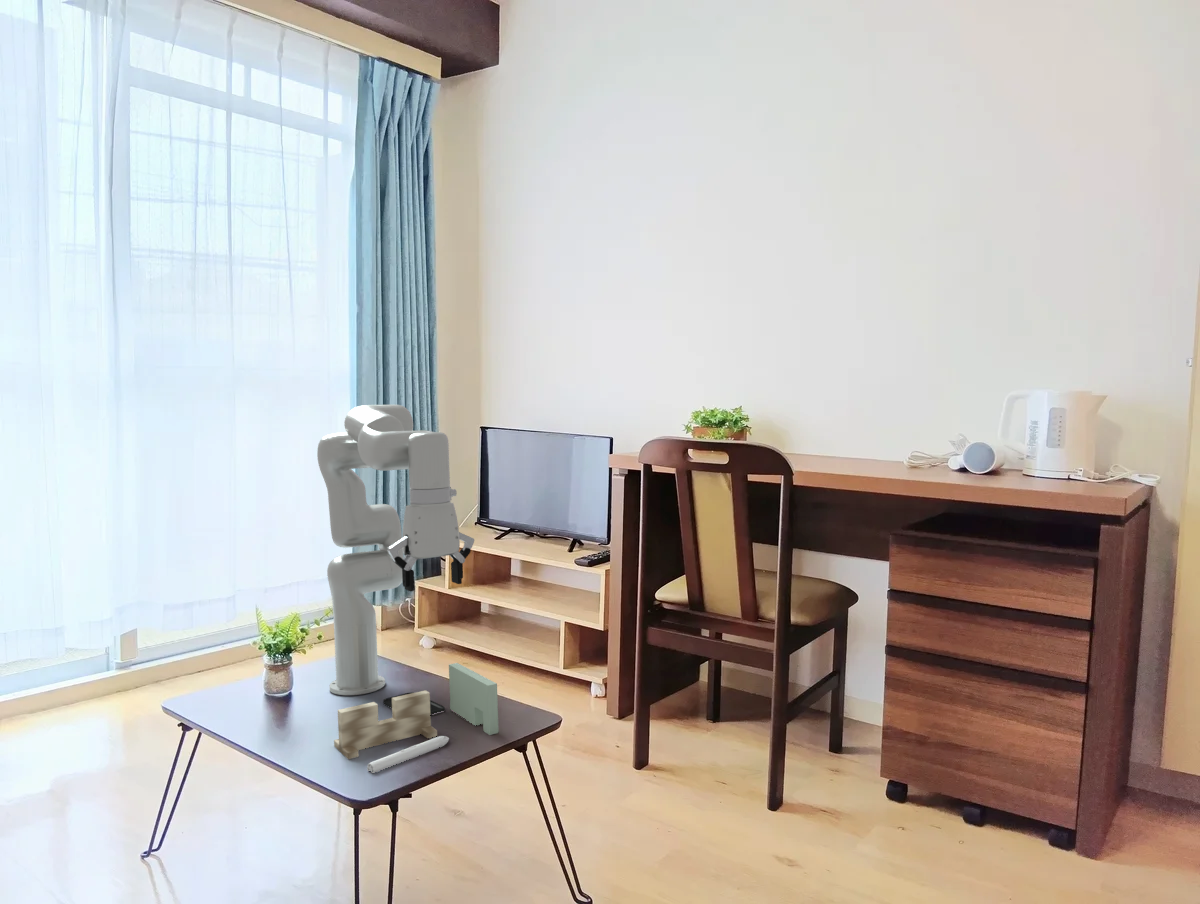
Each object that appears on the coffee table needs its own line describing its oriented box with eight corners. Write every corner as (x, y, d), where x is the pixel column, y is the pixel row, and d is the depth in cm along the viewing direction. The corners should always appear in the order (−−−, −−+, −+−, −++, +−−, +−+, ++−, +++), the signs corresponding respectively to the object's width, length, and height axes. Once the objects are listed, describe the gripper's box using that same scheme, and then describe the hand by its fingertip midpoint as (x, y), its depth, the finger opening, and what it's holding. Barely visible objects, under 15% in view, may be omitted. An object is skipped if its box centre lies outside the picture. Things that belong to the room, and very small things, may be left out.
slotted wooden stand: (348, 759, 162) (346, 717, 162) (334, 746, 169) (332, 705, 168) (437, 736, 173) (435, 696, 172) (421, 724, 179) (419, 686, 179)
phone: (412, 691, 198) (446, 707, 187) (412, 696, 198) (446, 712, 187) (380, 699, 193) (413, 716, 182) (381, 704, 193) (413, 722, 182)
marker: (445, 742, 170) (445, 730, 170) (452, 744, 169) (452, 732, 169) (367, 773, 157) (366, 760, 157) (373, 776, 156) (373, 763, 155)
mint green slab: (498, 732, 174) (497, 683, 173) (489, 735, 173) (488, 685, 172) (458, 708, 189) (457, 662, 188) (450, 710, 187) (448, 664, 187)
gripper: (463, 492, 173) (465, 577, 174) (379, 499, 163) (382, 590, 164) (480, 495, 167) (483, 583, 168) (394, 502, 157) (397, 596, 158)
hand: (433, 586), depth 166 cm, fingers open, 9 cm apart
